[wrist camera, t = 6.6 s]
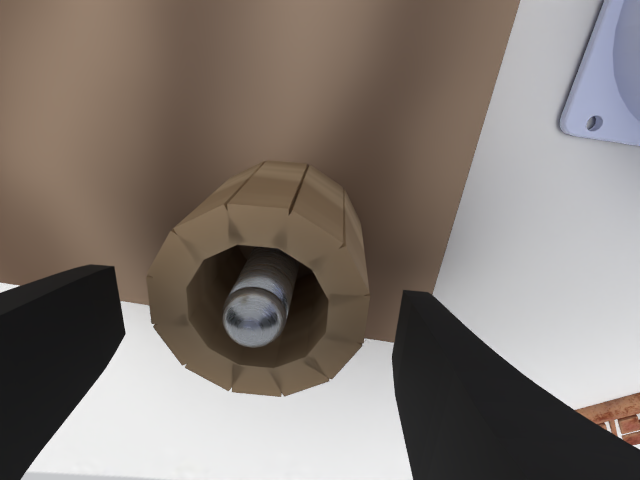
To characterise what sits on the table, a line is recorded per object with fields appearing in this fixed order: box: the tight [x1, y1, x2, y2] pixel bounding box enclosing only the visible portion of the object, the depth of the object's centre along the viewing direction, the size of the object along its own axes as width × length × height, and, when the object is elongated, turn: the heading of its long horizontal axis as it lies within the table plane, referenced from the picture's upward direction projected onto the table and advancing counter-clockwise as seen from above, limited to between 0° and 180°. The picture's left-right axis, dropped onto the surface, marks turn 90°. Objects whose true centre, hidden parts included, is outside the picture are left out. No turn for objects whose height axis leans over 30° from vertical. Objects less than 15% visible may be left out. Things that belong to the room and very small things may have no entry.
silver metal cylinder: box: [222, 246, 300, 348], centre depth 12 cm, size 2×2×6 cm
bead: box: [146, 160, 370, 397], centre depth 12 cm, size 6×6×5 cm
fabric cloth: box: [0, 0, 520, 342], centre depth 13 cm, size 18×18×2 cm
